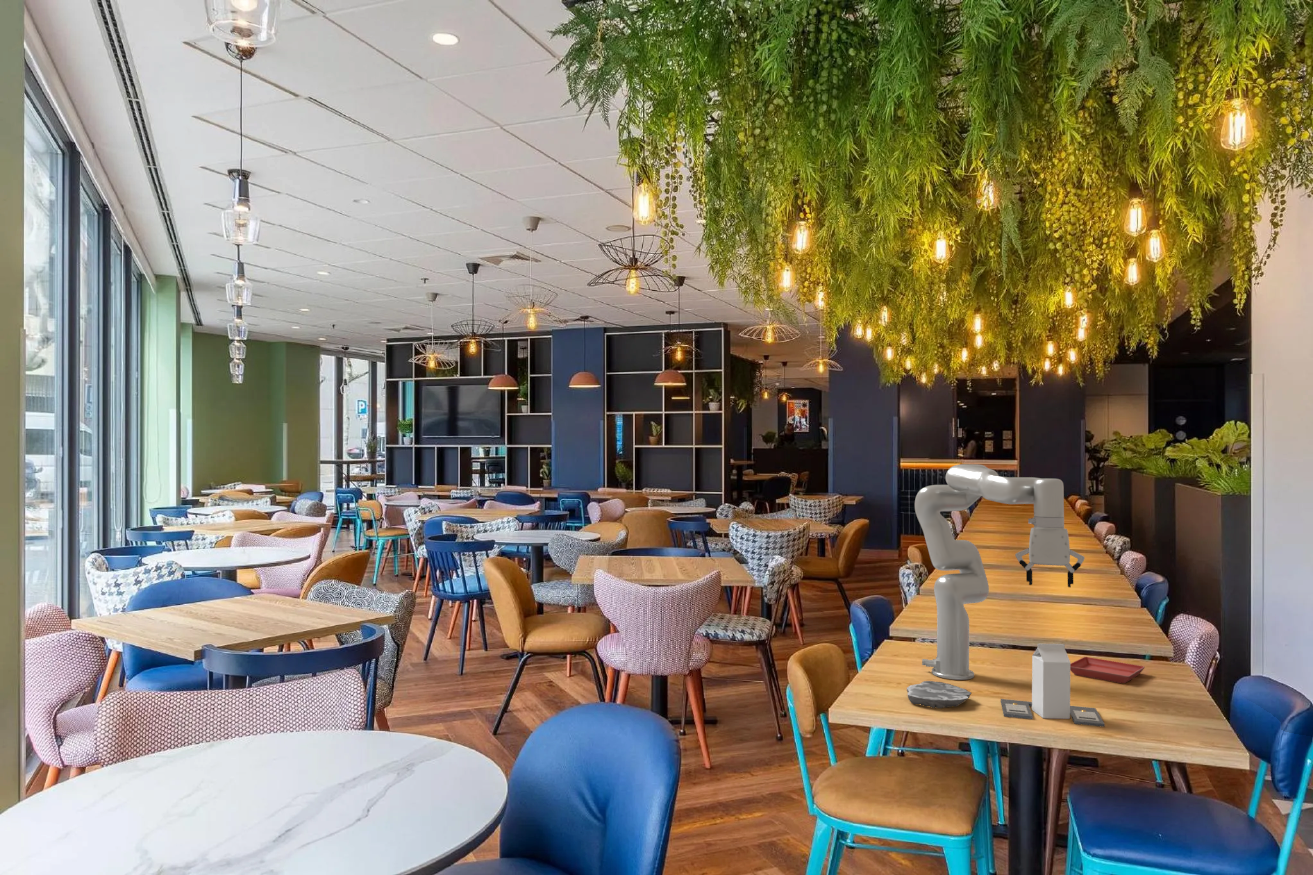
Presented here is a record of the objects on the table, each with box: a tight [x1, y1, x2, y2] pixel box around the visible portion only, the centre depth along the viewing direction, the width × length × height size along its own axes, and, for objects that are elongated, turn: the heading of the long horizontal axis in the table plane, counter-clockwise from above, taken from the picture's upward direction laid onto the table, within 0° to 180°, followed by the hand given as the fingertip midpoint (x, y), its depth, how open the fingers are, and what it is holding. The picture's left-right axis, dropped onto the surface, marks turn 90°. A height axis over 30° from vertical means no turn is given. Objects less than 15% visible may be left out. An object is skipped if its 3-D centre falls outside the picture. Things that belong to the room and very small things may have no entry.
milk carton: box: [1031, 643, 1071, 720], centre depth 228 cm, size 7×7×19 cm
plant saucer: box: [1070, 656, 1145, 684], centre depth 270 cm, size 18×18×3 cm
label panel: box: [1000, 698, 1106, 728], centre depth 229 cm, size 24×14×1 cm, turn 71°
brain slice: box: [906, 680, 972, 709], centre depth 240 cm, size 20×17×3 cm
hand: (1049, 585), depth 234 cm, fingers open, 9 cm apart
